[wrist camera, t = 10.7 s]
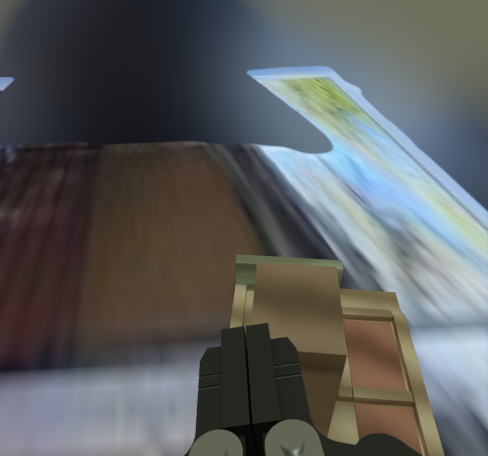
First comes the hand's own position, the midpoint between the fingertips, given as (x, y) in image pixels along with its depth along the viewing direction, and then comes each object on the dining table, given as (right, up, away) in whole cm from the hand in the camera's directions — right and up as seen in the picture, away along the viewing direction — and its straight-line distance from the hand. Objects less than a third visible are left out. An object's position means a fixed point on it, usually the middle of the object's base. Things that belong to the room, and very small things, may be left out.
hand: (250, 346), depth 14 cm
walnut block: (+3, -12, +24) cm, 27 cm away
